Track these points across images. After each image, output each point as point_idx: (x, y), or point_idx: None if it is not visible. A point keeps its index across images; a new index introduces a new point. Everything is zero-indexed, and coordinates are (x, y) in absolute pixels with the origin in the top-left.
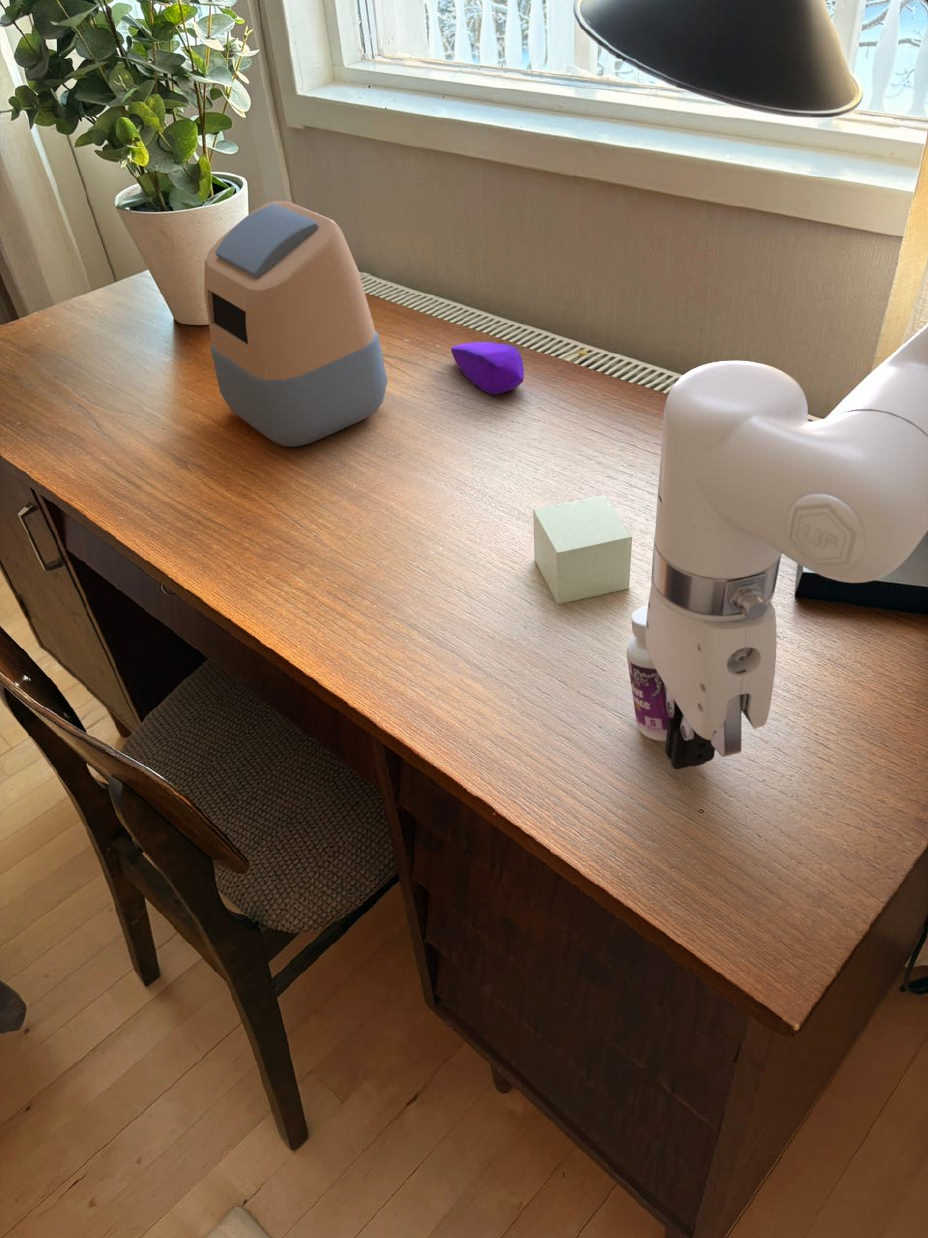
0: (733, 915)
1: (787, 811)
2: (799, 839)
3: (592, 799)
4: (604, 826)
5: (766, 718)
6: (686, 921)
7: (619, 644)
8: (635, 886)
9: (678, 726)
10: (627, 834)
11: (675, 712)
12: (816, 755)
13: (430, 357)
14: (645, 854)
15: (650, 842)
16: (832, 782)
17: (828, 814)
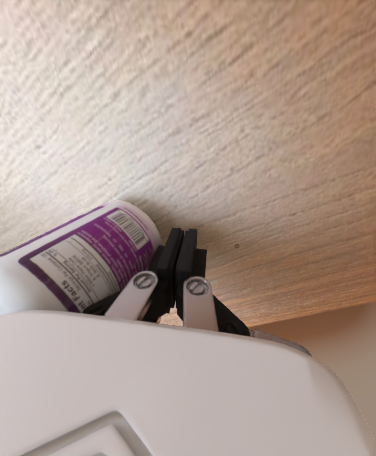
0: (346, 274)
1: (286, 167)
2: (327, 177)
3: None
4: None
5: (373, 435)
6: (323, 301)
7: (10, 214)
8: (274, 312)
9: (173, 304)
10: (230, 298)
11: (159, 321)
12: (227, 64)
13: None
14: (253, 297)
15: (245, 290)
16: (283, 71)
17: (323, 116)
